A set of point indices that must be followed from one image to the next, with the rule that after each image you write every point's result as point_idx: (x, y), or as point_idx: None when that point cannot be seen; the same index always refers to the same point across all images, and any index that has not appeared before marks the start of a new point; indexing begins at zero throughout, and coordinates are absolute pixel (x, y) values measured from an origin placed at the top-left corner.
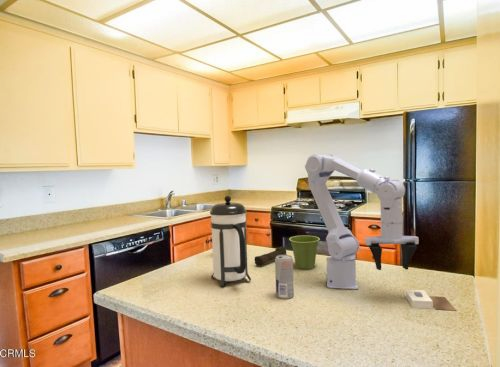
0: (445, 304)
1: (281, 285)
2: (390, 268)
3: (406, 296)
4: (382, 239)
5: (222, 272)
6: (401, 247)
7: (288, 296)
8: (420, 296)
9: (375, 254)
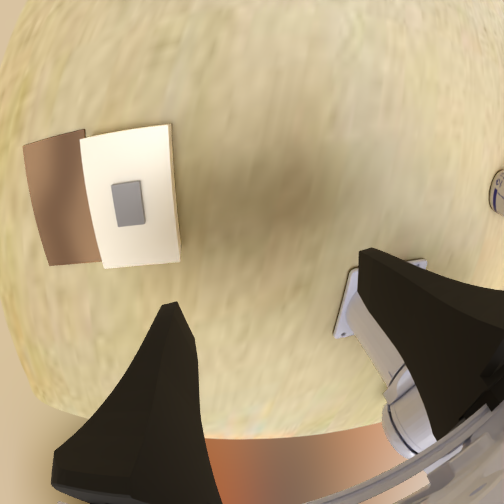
0: (46, 191)
1: None
2: (209, 426)
3: (179, 232)
4: None
5: None
6: (213, 479)
7: (502, 172)
8: (122, 182)
9: (484, 289)
